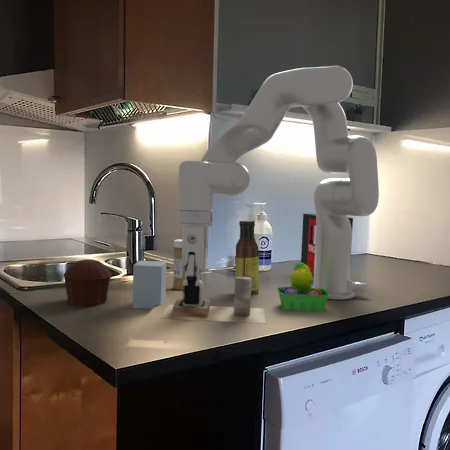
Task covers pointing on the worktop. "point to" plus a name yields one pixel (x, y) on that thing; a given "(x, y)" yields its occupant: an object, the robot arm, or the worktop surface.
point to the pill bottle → (199, 294)
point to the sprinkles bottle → (178, 266)
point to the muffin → (87, 283)
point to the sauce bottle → (247, 255)
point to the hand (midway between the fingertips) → (192, 300)
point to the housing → (149, 284)
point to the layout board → (220, 308)
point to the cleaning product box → (311, 240)
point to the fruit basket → (302, 292)
